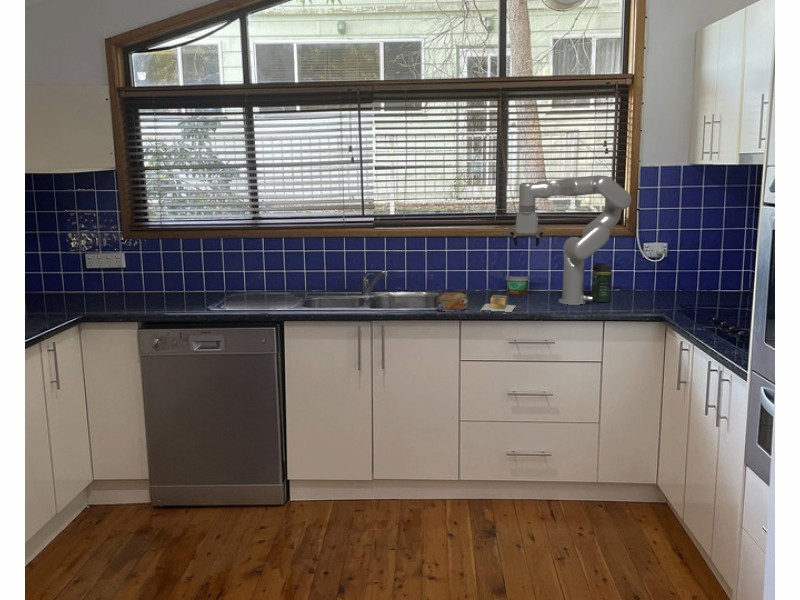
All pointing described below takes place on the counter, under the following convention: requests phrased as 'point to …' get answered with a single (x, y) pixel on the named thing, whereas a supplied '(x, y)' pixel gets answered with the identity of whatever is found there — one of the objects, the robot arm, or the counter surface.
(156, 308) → the counter surface
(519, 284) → the food container
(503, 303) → the tan wooden block
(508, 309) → the post base
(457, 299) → the tin
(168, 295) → the counter surface
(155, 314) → the counter surface
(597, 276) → the coffee jar
